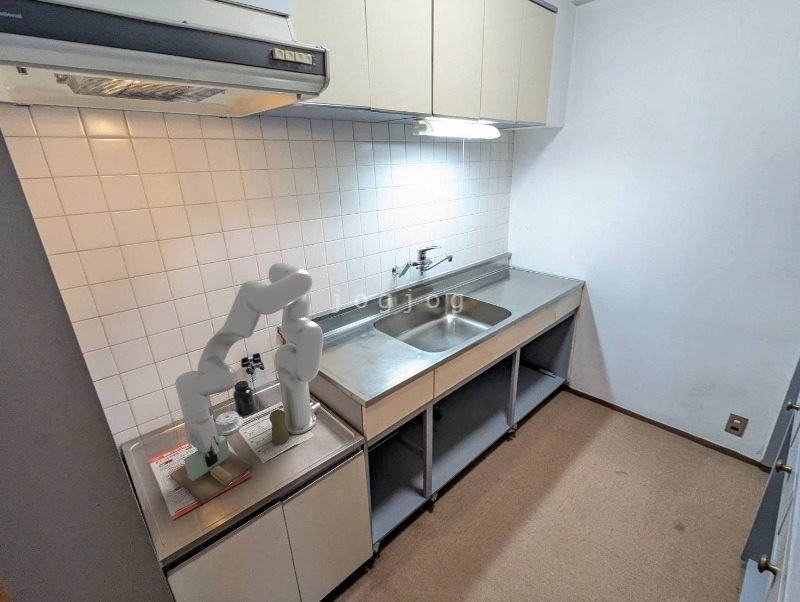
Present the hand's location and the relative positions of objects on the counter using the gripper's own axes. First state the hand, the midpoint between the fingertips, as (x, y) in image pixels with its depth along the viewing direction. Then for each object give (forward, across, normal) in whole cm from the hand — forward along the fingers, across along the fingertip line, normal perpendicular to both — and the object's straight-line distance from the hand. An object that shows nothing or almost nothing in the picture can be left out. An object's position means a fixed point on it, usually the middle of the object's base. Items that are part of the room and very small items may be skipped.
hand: (209, 461), depth 114 cm
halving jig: (+4, 0, 0) cm, 4 cm away
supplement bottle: (+4, -18, +25) cm, 31 cm away
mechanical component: (+5, -15, +16) cm, 22 cm away
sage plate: (+2, 0, 0) cm, 2 cm away
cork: (+4, +6, +22) cm, 23 cm away
